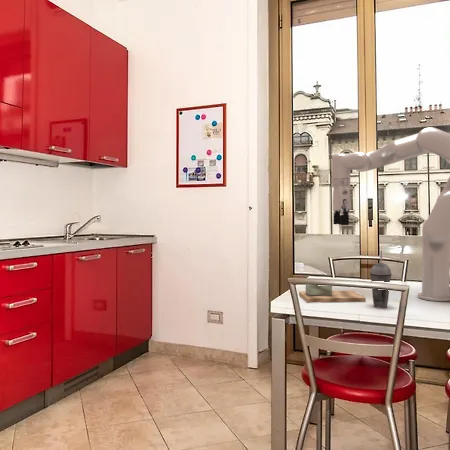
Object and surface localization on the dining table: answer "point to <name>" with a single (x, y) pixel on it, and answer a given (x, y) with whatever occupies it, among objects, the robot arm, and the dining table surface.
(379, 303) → the beverage cup
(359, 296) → the board
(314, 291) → the sanding block
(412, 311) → the dining table surface
